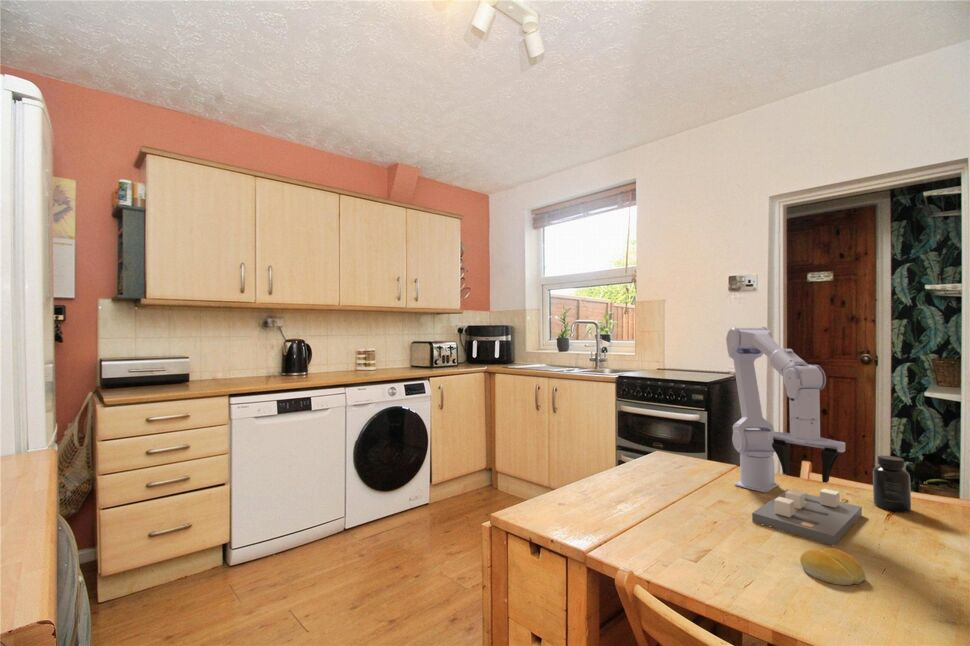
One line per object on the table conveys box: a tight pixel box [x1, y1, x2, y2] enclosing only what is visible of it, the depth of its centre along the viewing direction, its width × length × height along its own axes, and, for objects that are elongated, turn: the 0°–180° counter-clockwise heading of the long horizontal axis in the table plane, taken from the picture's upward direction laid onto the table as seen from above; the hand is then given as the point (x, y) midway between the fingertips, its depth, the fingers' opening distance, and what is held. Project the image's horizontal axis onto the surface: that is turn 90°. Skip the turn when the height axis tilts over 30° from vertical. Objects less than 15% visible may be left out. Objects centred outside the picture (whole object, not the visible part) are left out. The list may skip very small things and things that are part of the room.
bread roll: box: [800, 547, 866, 586], centre depth 81 cm, size 8×9×4 cm
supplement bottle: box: [872, 455, 912, 513], centre depth 110 cm, size 7×7×12 cm
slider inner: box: [819, 488, 840, 508], centre depth 107 cm, size 3×3×3 cm
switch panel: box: [751, 489, 863, 547], centre depth 104 cm, size 23×15×2 cm, turn 129°
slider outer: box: [774, 497, 795, 517], centre depth 102 cm, size 3×3×3 cm
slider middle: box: [785, 489, 806, 509], centre depth 106 cm, size 3×3×3 cm
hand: (805, 477), depth 104 cm, fingers open, 7 cm apart
